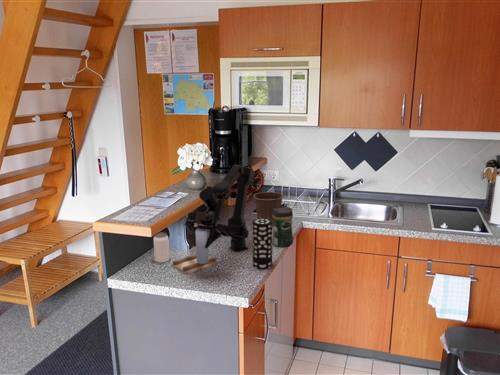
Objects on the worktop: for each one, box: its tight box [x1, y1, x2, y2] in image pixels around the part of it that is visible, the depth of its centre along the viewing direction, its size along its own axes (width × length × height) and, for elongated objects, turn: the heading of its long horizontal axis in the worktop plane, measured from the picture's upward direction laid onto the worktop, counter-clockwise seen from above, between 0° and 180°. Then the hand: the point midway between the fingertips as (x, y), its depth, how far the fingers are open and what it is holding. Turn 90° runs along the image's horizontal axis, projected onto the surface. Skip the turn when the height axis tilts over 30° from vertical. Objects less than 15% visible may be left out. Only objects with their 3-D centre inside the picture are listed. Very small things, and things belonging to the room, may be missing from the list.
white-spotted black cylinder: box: [251, 218, 273, 271], centre depth 179 cm, size 8×8×20 cm
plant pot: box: [253, 191, 284, 227], centre depth 235 cm, size 16×16×16 cm
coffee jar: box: [272, 206, 294, 248], centre depth 203 cm, size 10×8×19 cm
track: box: [171, 253, 218, 275], centre depth 183 cm, size 16×11×2 cm
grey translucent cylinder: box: [195, 229, 210, 264], centre depth 168 cm, size 5×5×13 cm
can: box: [153, 232, 170, 264], centre depth 187 cm, size 6×6×12 cm
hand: (200, 246), depth 167 cm, fingers closed on grey translucent cylinder, 5 cm apart
